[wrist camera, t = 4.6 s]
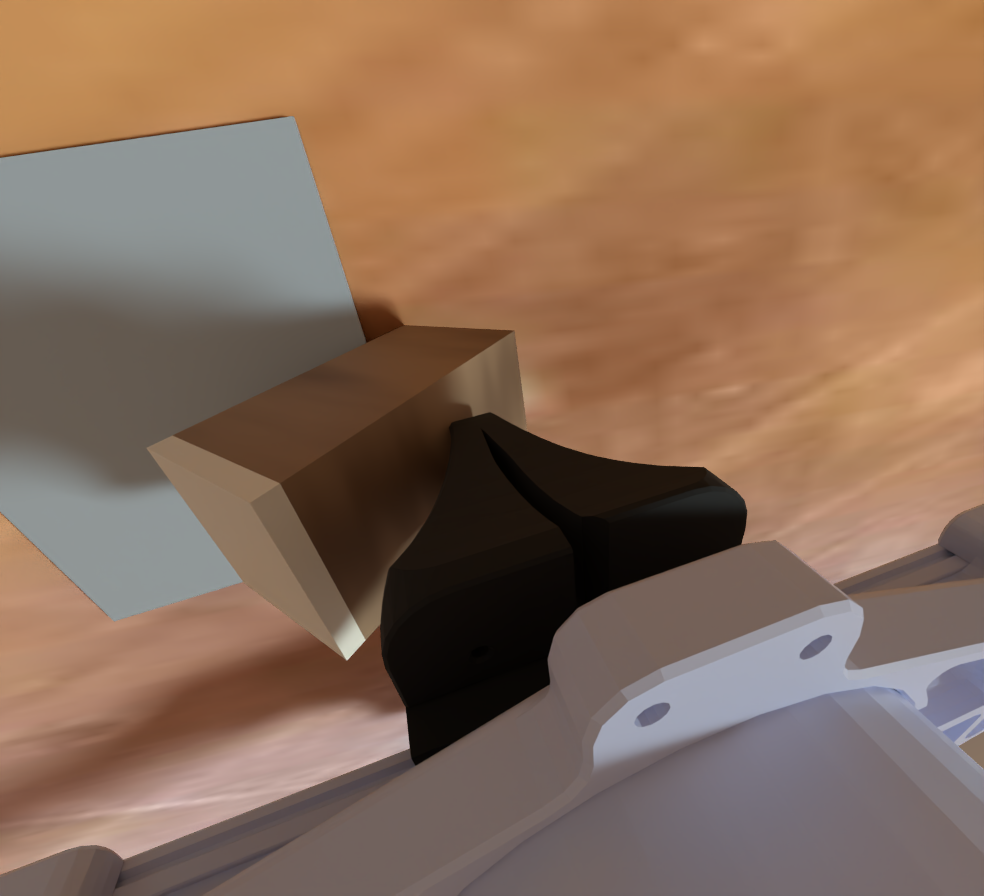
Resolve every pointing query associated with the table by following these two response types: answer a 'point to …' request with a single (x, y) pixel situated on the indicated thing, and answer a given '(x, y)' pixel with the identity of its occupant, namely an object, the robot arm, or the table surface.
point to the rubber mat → (150, 336)
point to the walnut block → (340, 469)
